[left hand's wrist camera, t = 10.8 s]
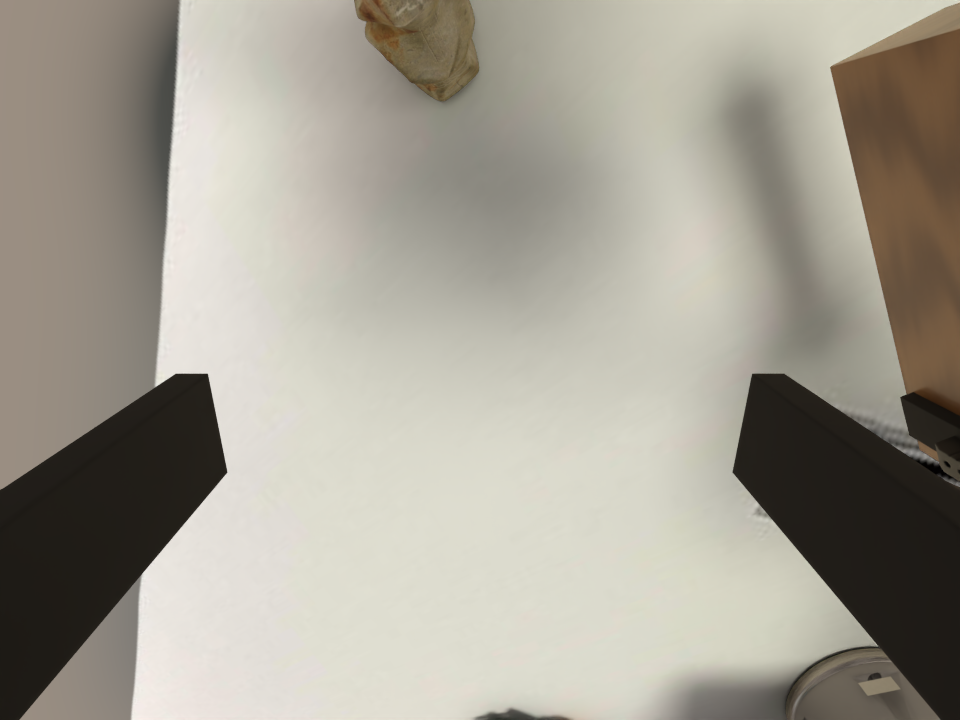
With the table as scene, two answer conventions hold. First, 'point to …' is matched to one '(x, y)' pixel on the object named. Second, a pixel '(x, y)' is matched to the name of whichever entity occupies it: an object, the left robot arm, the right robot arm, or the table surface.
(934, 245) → the bar
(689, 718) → the table surface
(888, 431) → the table surface
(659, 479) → the table surface
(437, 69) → the sculpture
